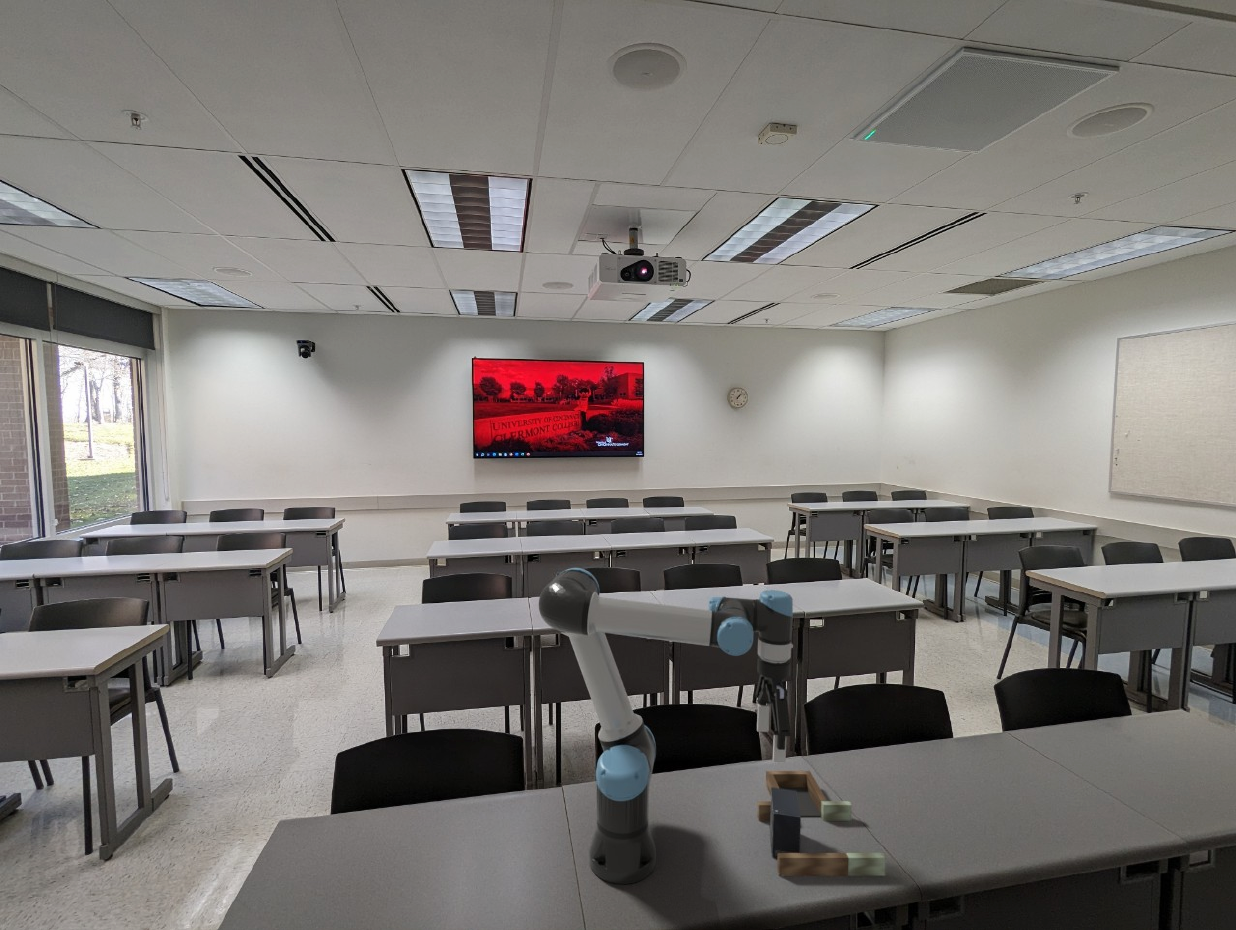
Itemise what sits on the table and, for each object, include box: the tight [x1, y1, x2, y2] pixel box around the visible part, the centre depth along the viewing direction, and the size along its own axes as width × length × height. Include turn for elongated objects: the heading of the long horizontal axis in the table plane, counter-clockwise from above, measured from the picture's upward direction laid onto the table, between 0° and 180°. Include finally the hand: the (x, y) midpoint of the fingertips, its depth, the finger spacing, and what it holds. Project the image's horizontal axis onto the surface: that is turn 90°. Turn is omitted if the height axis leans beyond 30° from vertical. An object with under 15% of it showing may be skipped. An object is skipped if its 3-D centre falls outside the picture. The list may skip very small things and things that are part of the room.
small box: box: [769, 787, 802, 859], centre depth 139 cm, size 11×6×10 cm, turn 168°
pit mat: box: [779, 787, 822, 818], centre depth 155 cm, size 9×12×1 cm
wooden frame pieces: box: [756, 770, 886, 877], centre depth 146 cm, size 23×34×4 cm
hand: (770, 745), depth 141 cm, fingers open, 13 cm apart
